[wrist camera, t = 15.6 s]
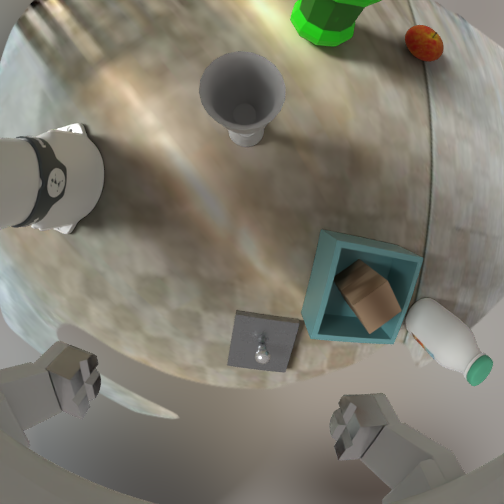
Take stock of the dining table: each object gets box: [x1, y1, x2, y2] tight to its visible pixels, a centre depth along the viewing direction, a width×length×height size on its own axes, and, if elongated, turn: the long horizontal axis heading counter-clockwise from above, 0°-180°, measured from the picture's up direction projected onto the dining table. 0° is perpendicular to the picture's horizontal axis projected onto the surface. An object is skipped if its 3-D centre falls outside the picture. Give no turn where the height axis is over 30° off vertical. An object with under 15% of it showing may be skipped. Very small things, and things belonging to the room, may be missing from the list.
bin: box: [301, 229, 423, 344], centre depth 38 cm, size 14×14×8 cm
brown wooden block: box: [333, 259, 402, 334], centre depth 36 cm, size 5×5×10 cm
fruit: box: [405, 25, 443, 62], centre depth 28 cm, size 7×7×8 cm
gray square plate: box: [227, 310, 300, 372], centre depth 42 cm, size 10×10×6 cm
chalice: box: [199, 51, 286, 147], centre depth 28 cm, size 7×7×18 cm
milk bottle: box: [405, 298, 493, 386], centre depth 34 cm, size 8×8×20 cm
